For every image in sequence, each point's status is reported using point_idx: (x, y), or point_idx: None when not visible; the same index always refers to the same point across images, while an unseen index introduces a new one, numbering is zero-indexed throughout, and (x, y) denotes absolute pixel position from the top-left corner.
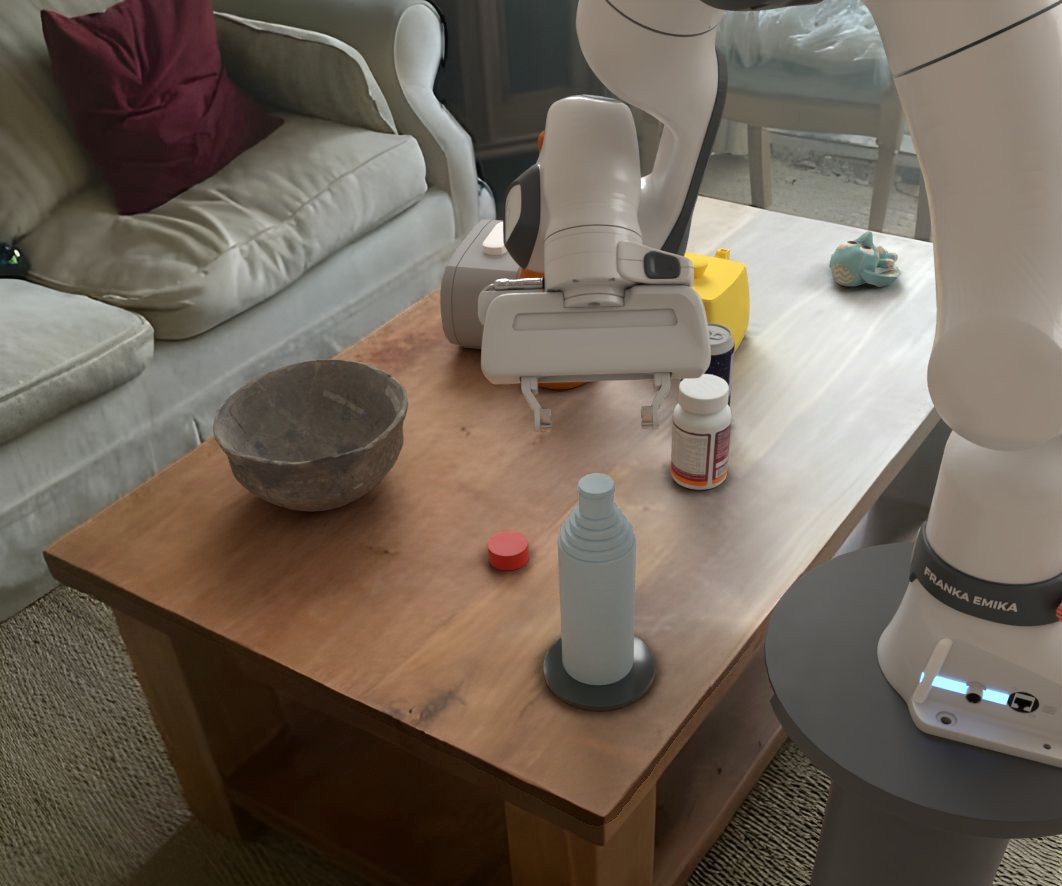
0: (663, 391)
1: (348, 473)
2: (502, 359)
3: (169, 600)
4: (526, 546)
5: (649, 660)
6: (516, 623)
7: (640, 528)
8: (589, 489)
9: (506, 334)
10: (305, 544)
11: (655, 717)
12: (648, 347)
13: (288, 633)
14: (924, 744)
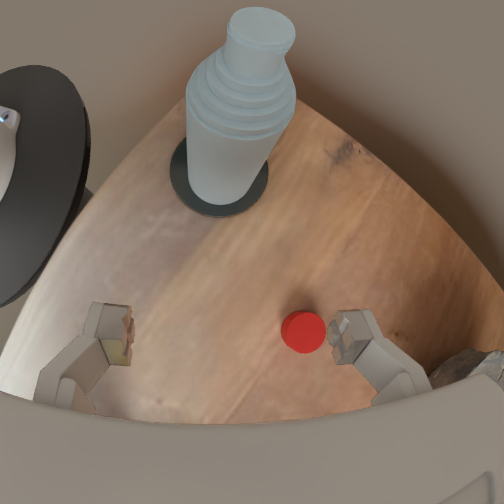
0: (59, 361)
1: (452, 372)
2: (483, 403)
3: (487, 276)
4: (288, 328)
5: (174, 170)
6: (291, 235)
7: (165, 372)
8: (275, 16)
9: (497, 454)
10: (441, 338)
11: (179, 120)
12: (70, 481)
13: (439, 240)
14: (24, 105)
